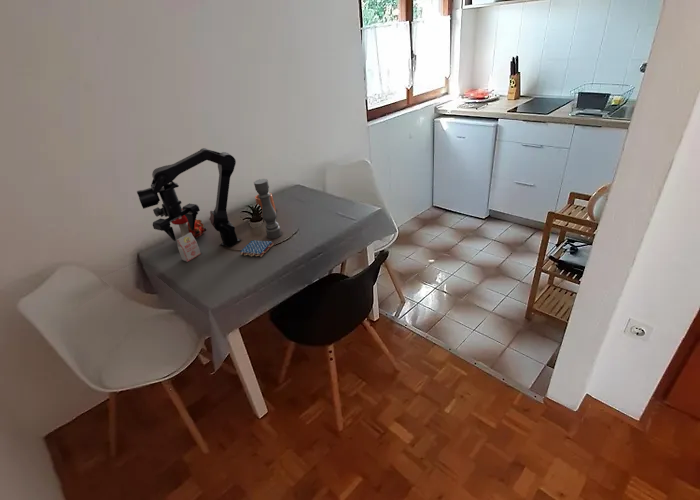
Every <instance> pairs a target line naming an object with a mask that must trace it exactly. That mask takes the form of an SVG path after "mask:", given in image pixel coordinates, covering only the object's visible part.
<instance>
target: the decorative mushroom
mask: <svg viewBox="0 0 700 500" xmlns="http://www.w3.org/2000/svg"><path fill="white" fill-rule="evenodd" d="M182 210H183V209H182ZM187 223H188V220H187V217H186V216H185V215H183V216H181V217H180V218H178V219H176V220H174V221H172V222H171V224H172V225H174V226H176V225H177V226H179V229H180V238H181V237H183V236H185V235H187V234H189V229H188V224H187ZM193 237H194V236H193Z"/></svg>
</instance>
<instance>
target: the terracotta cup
mask: <svg viewBox="0 0 700 500" xmlns="http://www.w3.org/2000/svg"><path fill="white" fill-rule="evenodd" d="M268 193H270V195H271V196H270V201H271V204H272V206H273V208H274V210H275V212H276V213H277V208H276V204H275V201H274V197H273V193H272V192H268ZM258 195H259V194H258V193H257V194H256V195H255V196H254V199H255V203H256V206H257V205H258V204H259V205H260V206H261V209H262V203H261V199H259V198H258Z"/></svg>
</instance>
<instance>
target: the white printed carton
mask: <svg viewBox="0 0 700 500" xmlns="http://www.w3.org/2000/svg"><path fill="white" fill-rule="evenodd" d="M176 243H177V244H176V245H177V249H178V252H179V254H180V258H181V260H182V261H184V262H188V263H189V262H190V261H191V260H193V259H195V258H197V257H198V256H200V255H202V253H201V250H200V247H199V245H198V241H197V240H196V239H195V238H194V237H193V235H192V233H189V234H187V235H185V236H183V237H181V236H180V237H179V238H178V239H177V238H176Z"/></svg>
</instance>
